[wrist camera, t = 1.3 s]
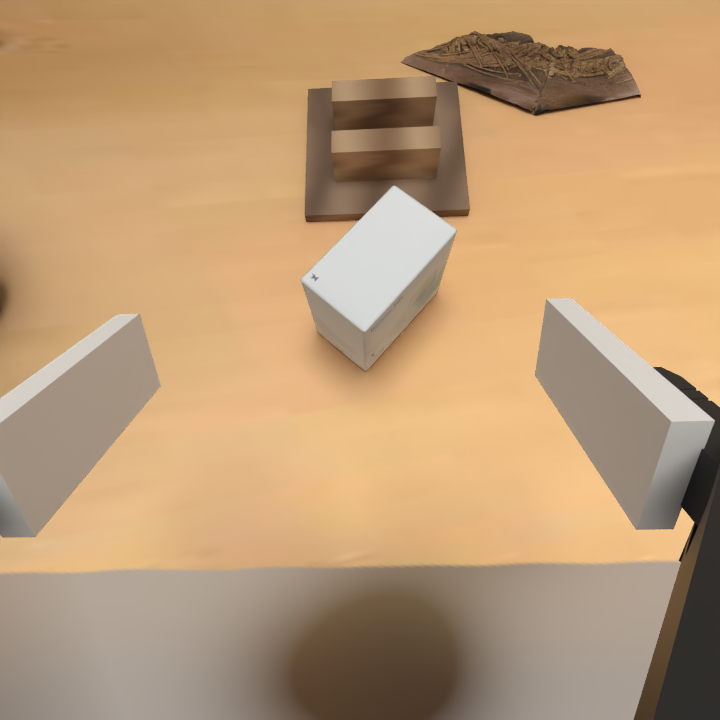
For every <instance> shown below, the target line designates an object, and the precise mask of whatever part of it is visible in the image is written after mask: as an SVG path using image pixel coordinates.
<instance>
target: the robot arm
mask: <svg viewBox="0 0 720 720" xmlns="http://www.w3.org/2000/svg"><path fill="white" fill-rule="evenodd" d="M535 376H536V378H537V379H538V381H539V382H540V384H541V385H542V387H543V388H544V390H545V391H546V393H547V394H548V396H549V398H550V399H551V401H552V402H553V404H554V405H555V407H556V408H557V410H558V411H559V413H560V414H561V416H562V417H563V419H564V420H565V422H566V423H567V425H568V427H569V428H570V430H571V431H572V433H573V434H574V436H575V437H576V439H577V440H578V442H579V443H580V445H581V446H582V448H583V449H584V451H585V452H586V454H587V456H588V457H589V459H590V460H591V462H592V463H593V465H594V466H595V468H596V469H597V471H598V472H599V474H600V475H601V477H602V478H603V480H604V481H605V483H606V485H607V486H608V488H609V489H610V491H611V492H612V494H613V495H614V497H615V498H616V500H617V501H618V503H619V504H620V506H621V507H622V509H623V510H624V512H625V514H626V515H627V517H628V518H629V520H630V521H631V523H632V524H633V526H634V527H635V529H636V530H640V529H674V526H675V524H676V521H677V519H678V516H679V513H680V511H681V508H682V507H683V509H684V510H685V511H686V512H687V514H688V515H689V516H690V517H691V519H692V520H693V521H694V522H695V523H694V525H693V527H692V530H691V532H690V535H689V537H688V540H687V542H686V545H685V547H684V549H683V552H682V554H681V557H680V559H679V561H681V565H680V568H679V571H678V575H677V578H676V581H675V584H674V588H673V591H672V594H671V598H670V601H669V604H668V608H667V611H666V614H665V618H664V621H663V624H662V628H661V631H660V634H659V638H658V641H657V644H656V648H655V651H654V654H653V658H652V661H651V665H650V667H649V671H648V674H647V678H646V681H645V684H644V687H643V691H642V694H641V697H640V701H639V704H638V707H637V711H636V714H635V717H634V720H720V407H719V406H717V405H716V404H715V403H714V402H712V401H708V398H707V397H706V396H705V395H704V394H702V393H701V392H700V391H696V388H695V387H694V386H692V385H691V384H690V383H689V382H687V381H686V380H685V379H684V378H682V377H681V376H679V375H677V374H675V373H672V372H670V371H668V370H666V369H664V368H662V367H652V366H650V365H649V364H648V363H647V362H646V361H645V360H643V359H642V358H641V357H640V356H639V355H637V354H636V353H635V352H634V351H633V350H632V349H630V348H629V347H628V346H627V345H626V344H625V343H623V342H622V341H621V340H620V339H619V338H618V337H616V336H615V335H614V334H613V333H612V332H611V331H609V330H608V329H607V328H606V327H605V326H604V325H602V324H601V323H600V322H599V321H598V320H596V319H595V318H594V317H593V316H592V315H591V314H589V313H588V312H587V311H586V310H585V309H584V308H582V307H581V306H580V305H579V304H578V303H577V302H575V301H574V300H573V299H572V298H557V299H546V305H545V312H544V318H543V325H542V331H541V338H540V345H539V351H538V358H537V365H536V371H535ZM160 386H161V385H160V382H159V378H158V375H157V371H156V368H155V365H154V361H153V358H152V354H151V351H150V348H149V344H148V341H147V337H146V334H145V331H144V327H143V324H142V320H141V317H140V314H117V315H115V316H114V317H113V318H111V319H110V320H108V321H107V322H106V323H104V324H103V325H102V326H100V327H99V328H97V329H96V330H95V331H93V332H92V333H90V334H89V335H88V336H86V337H85V338H83V339H82V340H81V341H79V342H78V343H77V344H75V345H74V346H72V347H71V348H70V349H68V350H67V351H65V352H64V353H63V354H61V355H60V356H58V357H57V358H56V359H54V360H53V361H52V362H50V363H49V364H47V365H46V366H45V367H43V368H42V369H40V370H39V371H38V372H36V373H35V374H33V375H32V376H31V377H29V378H28V379H26V380H25V381H24V382H22V383H21V384H20V385H18V386H17V387H15V388H14V389H13V390H11V391H10V392H8V393H7V394H6V395H4V396H3V397H1V398H0V534H1V536H2V537H36V535H37V534H38V533H39V532H40V531H41V529H42V528H43V527H44V526H45V525H46V523H47V522H48V521H49V520H50V519H51V517H52V516H53V515H54V514H55V513H56V511H57V510H58V509H59V508H60V507H61V505H62V504H63V503H64V502H65V501H66V499H67V498H68V497H69V496H70V495H71V493H72V492H73V491H74V490H75V489H76V487H77V486H78V485H79V484H80V483H81V481H82V480H83V479H84V478H85V477H86V475H87V474H88V473H89V472H90V471H91V469H92V468H93V467H94V466H95V465H96V463H97V462H98V461H99V460H100V458H101V457H102V456H103V455H104V454H105V452H106V451H107V450H108V449H109V448H110V446H111V445H112V444H113V443H114V442H115V440H116V439H117V438H118V437H119V436H120V434H121V433H122V432H123V431H124V430H125V428H126V427H127V426H128V425H129V424H130V422H131V421H132V420H133V419H134V418H135V416H136V415H137V414H138V413H139V412H140V410H141V409H142V408H143V407H144V406H145V404H146V403H147V402H148V401H149V400H150V398H151V397H152V396H153V395H154V394H155V392H156V391H157V390H158V389H159V388H160Z"/></svg>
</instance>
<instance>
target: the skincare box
mask: <svg viewBox="0 0 720 720" xmlns="http://www.w3.org/2000/svg"><path fill="white" fill-rule="evenodd" d="M456 232H457V230H456V229H455V228H454V227H453V226H451V225H450V224H449V223H447V222H446V221H445V220H443V219H442V218H440V217H439V216H438V215H436V214H435V213H433V212H432V211H430V210H429V209H428V208H426V207H425V206H423V205H422V204H421V203H419V202H418V201H416V200H415V199H413V198H412V197H411V196H409V195H408V194H406V193H405V192H404V191H402V190H401V189H399V188H398V187H396V186H392V187H391V188H390V189H389V190H388V191H387V192H386V193H385V194H384V195H383V197H382V198H381V199H380V200H379V201H378V202H377V203H376V204H375V205H374V206H373V207H372V208H371V209H370V210H369V211H368V212H367V213H366V214H365V215H364V216H363V217H362V218H361V219H360V220H359V221H358V222H357V223H356V224H355V225H354V226H353V227H352V228H351V229H350V230H349V231H348V232H347V233H346V234H345V235H344V236H343V237H342V238H341V239H340V240H339V241H338V242H337V243H336V244H335V245H334V246H333V247H332V248H331V249H330V250H329V251H328V252H327V253H326V254H325V255H324V256H323V257H322V258H321V259H320V260H319V261H318V262H317V263H316V264H315V265H314V266H313V267H312V268H311V269H310V270H309V271H308V272H307V273H306V274H305V275H304V276H303V277H302V278H301V283H302V285H303V288H304V290H305V294H306V297H307V300H308V303H309V306H310V309H311V312H312V315H313V319H314V322H315V326H316V329H317V332H318V333H319V334H321V335H322V336H323V337H324V338H325V339H327V340H328V341H329V342H330V343H331V344H333V345H334V346H335V347H336V348H337V349H339V350H340V351H341V352H342V353H343V354H345V355H346V356H347V357H348V358H349V359H351V360H352V361H353V362H354V363H356V364H357V365H358V366H359V367H360V368H362V369H363V370H364V371H367V370H368V369H369V368H370V367H371V366H372V365H373V364H374V363H375V361H376V360H377V359H378V358H379V357H380V356H381V355H382V354H383V352H384V351H385V350H386V349H387V348H388V347H389V346H390V345H391V343H392V342H393V341H394V340H395V339H396V338H397V337H398V336H399V335H400V333H401V332H402V331H403V330H404V329H405V328H406V327H407V326H408V324H409V323H410V322H411V321H412V320H413V319H414V318H415V317H416V315H417V314H418V313H419V312H420V311H421V310H422V309H423V308H424V306H425V305H426V304H427V303H428V302H429V301H430V300H431V299H432V298H433V297H434V295H435V294H436V293H437V292H438V288H439V285H440V282H441V278H442V275H443V272H444V269H445V266H446V263H447V260H448V256H449V253H450V250H451V247H452V244H453V241H454V238H455V235H456Z"/></svg>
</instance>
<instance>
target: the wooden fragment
mask: <svg viewBox="0 0 720 720" xmlns="http://www.w3.org/2000/svg"><path fill="white" fill-rule="evenodd" d="M401 63H405V64H407V65H409V66H412V67H415V68H418V69H421V70H425V71H427V72H429V73H433V74H436V75H438V76H441V77H443V78H446V79H448V80H451V81H454V82H457V83H460V84H463V85H467V86H470V87H473V88H477V89H479V90H481V91H484V92H487V93H489V94H491V95H494V96H496V97H499V98H501V99H504V100H506V101H509V102H512V103H513V104H514V103H515V104H518V105H519V106H521V107H523V108H526V109H529V110H530V111H532V112H533V109H534V108H535V107H536V109H535V110H534V112H533V113H535V114H538V113H542V112H544V111H546V110H553V109H558V108H565V107H571V106H577V105H583V104H590V103H596V102H601V101H608V100H614V99H615V100H616V99H621V98H625V97H629V96H634V95H638V94H639V96H640V98H641V94H640V91H639V89H638V87H637V85H636V82H635V80H634V79H633V77H632V74H631V73H630V72H629V70H628V69H627V68H626V67H625V63H624V61H623V58H622V57H621V55H616V54H615V53H614V51H613V50H612V49H611V48H610V49H608V50H604V49H596V48H582V49H580V50H579V51H578V50H577V49H574V48H573V47H570V46H568V47H564V46H562V45H559V46H558V48H556V49H555V50H554V48H553V47H552V48H549V47H548V46H546V45H545V44H542V43H539V42H538V43H534V41H533V39H532V37H531V36H529V35H527V34H523V33H517V32H514V31H512V32H507V33H500V34H498V33H495V34H492V35H490V34H487V35H485V34H480V33H478V32H476V31H474V32H472V33H470V34H469V35H463V36H462V37H456V38H454V39H452V40H451V41H449V42H447V43H442V44H441V45H437V46H436V47H434V48H433V49H430V50H423V51H419V52H417V53H414V54H412V55H410V56H407V57H405V59H404V60H403V61H402V62H401Z"/></svg>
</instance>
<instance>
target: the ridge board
mask: <svg viewBox="0 0 720 720" xmlns="http://www.w3.org/2000/svg"><path fill="white" fill-rule="evenodd" d="M392 186H396V187H398V188H399V189H401V190H402V191H404V192H405V193H406V194H408V195H409V196H411V197H412V198H413V199H415V200H416V201H418V202H419V203H421V204H422V205H423V206H425V207H426V208H428V209H429V210H430V211H432V212H433V213H435V214H436V215H438V216H439V217H441V216H467V215H468V213H469V210H470V206H469V196H468V186H467V176H466V167H465V157H464V147H463V137H462V127H461V117H460V107H459V97H458V88H457V82H438V83H436V79H435V76H427V77H408V78H388V79H369V80H349V81H332V88H320V89H308V123H307V160H306V197H305V217H306V221H307V222H312V221H338V220H360V219H361V218H362V217H363V216H364V215H365V214H366V213H367V212H368V211H369V210H370V209H371V208H372V207H373V206H374V205H375V204H376V203H377V202H378V201H379V200H380V199H381V198H382V197H383V195H384V194H385V193H386V192H387V191H388V190H389V189H390V188H391V187H392Z"/></svg>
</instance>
